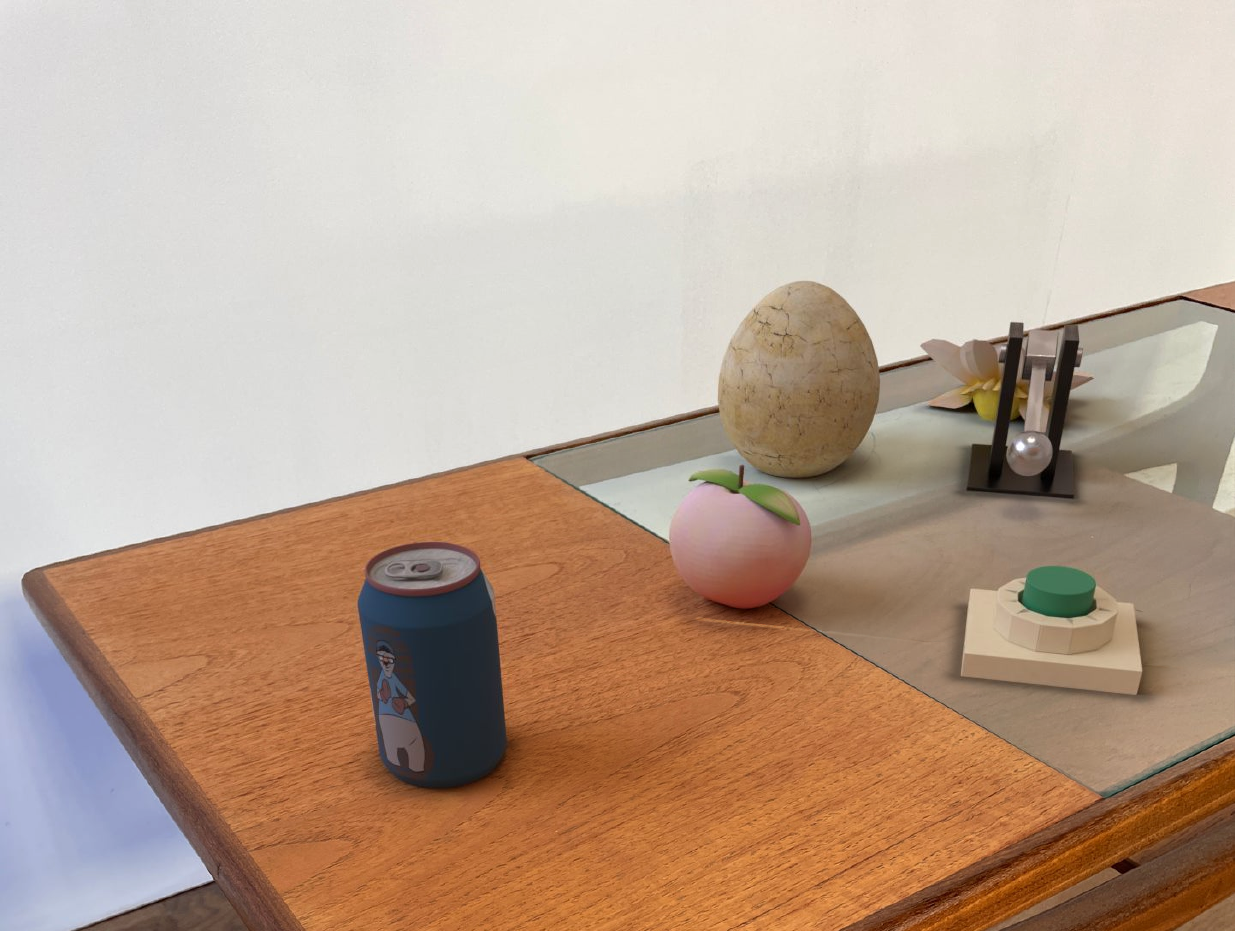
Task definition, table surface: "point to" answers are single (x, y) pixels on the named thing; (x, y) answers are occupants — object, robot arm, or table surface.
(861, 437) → the fossilized egg
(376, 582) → the soda can
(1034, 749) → the table surface
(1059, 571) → the green push button
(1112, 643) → the button block
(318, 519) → the table surface
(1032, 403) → the tap lever
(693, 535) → the decorative fruit
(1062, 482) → the black metal frame
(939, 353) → the decorative flower
